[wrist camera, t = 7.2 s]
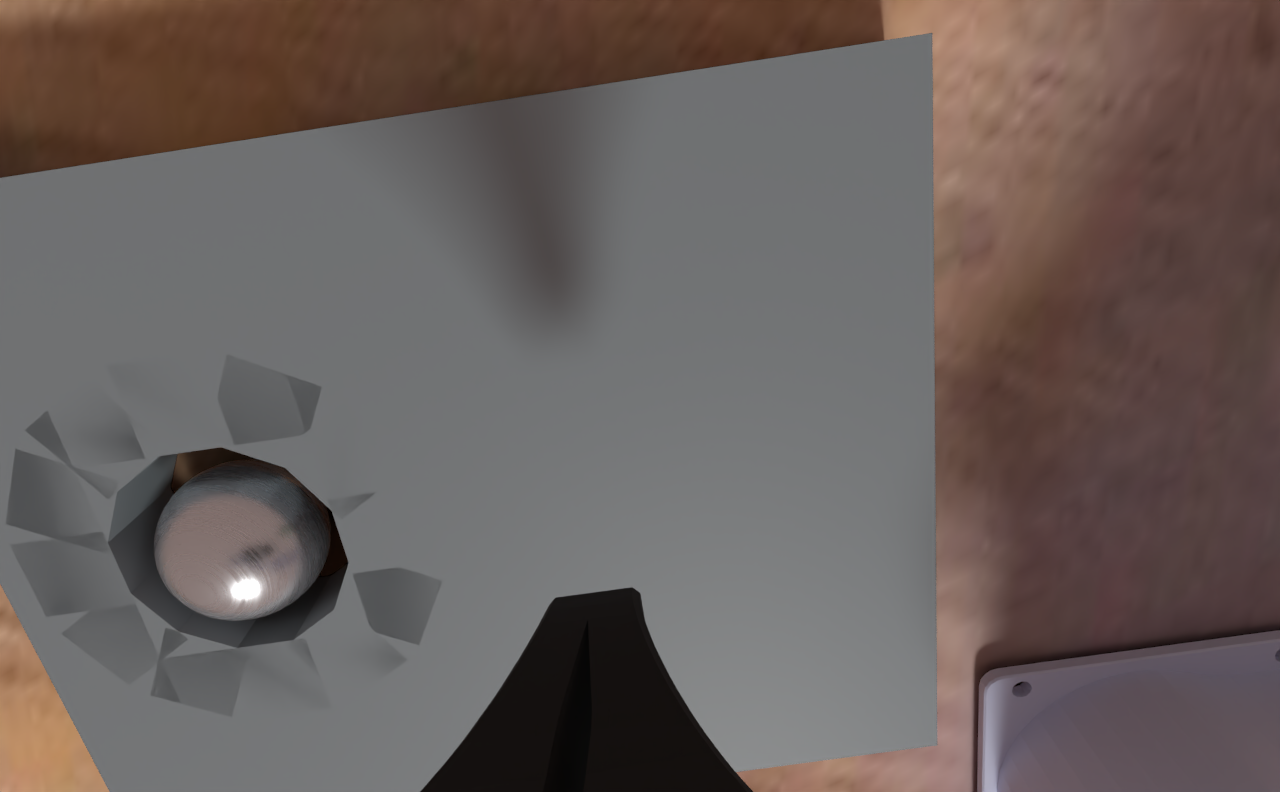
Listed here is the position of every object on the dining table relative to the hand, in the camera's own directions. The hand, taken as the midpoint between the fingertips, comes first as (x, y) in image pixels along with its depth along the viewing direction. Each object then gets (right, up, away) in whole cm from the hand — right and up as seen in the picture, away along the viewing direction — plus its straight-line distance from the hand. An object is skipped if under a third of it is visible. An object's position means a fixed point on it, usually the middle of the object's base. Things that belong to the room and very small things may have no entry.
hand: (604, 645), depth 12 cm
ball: (-8, +1, +5) cm, 10 cm away
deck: (-3, +2, +7) cm, 8 cm away
